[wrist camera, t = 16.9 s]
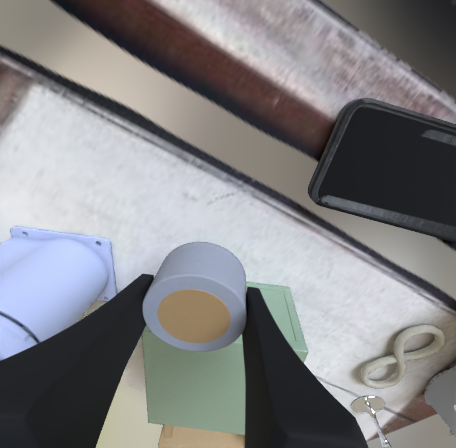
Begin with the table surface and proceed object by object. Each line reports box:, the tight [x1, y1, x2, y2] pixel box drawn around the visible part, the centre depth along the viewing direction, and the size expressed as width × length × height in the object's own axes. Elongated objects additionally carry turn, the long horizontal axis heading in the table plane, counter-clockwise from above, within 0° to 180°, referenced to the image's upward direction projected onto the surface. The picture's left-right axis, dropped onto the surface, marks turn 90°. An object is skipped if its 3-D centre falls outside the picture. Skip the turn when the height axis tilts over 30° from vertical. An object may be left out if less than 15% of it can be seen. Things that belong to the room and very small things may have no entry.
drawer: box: [158, 425, 245, 448], centre depth 27 cm, size 17×11×5 cm, turn 173°
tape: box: [142, 242, 247, 352], centre depth 12 cm, size 5×5×3 cm
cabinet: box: [142, 282, 308, 435], centre depth 23 cm, size 14×13×7 cm
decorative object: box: [360, 325, 445, 389], centre depth 26 cm, size 11×1×5 cm
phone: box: [308, 98, 456, 242], centre depth 17 cm, size 8×1×15 cm
